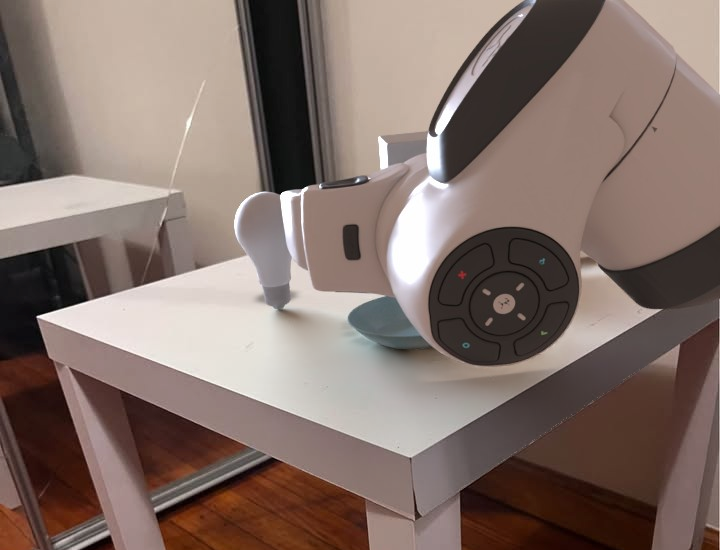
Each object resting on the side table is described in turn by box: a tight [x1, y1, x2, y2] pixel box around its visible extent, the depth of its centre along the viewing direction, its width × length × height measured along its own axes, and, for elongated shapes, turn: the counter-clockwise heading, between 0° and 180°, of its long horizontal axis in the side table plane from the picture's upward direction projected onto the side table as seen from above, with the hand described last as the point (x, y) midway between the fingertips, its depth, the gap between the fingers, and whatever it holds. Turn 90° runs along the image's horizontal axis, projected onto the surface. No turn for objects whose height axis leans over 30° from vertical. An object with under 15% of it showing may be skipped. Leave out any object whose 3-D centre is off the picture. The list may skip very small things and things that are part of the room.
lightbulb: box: [233, 191, 293, 310], centre depth 73 cm, size 6×6×11 cm
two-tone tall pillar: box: [378, 130, 429, 170], centre depth 61 cm, size 4×5×11 cm
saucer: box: [346, 295, 433, 351], centre depth 65 cm, size 12×12×2 cm
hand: (408, 190), depth 61 cm, fingers closed on two-tone tall pillar, 4 cm apart
